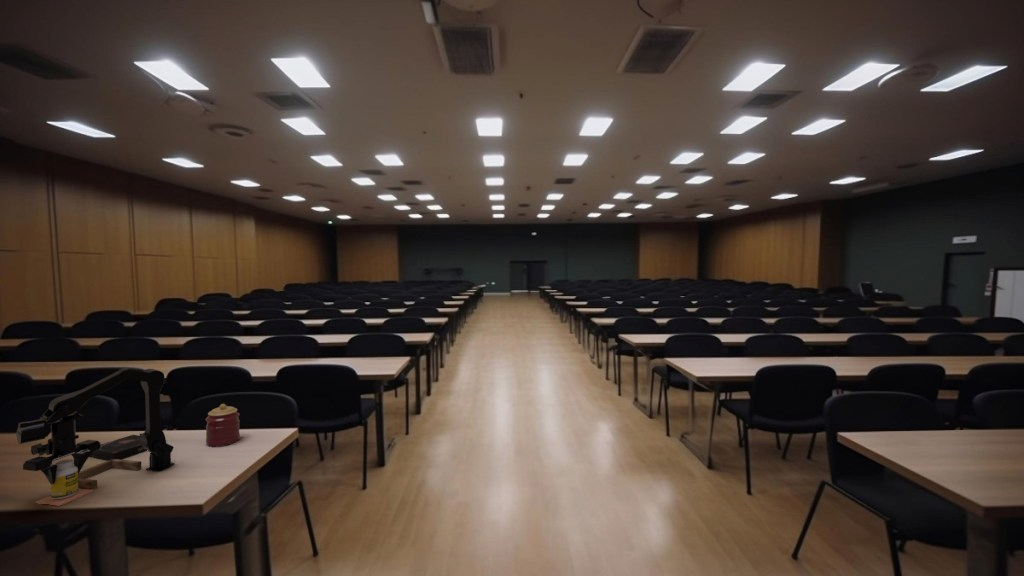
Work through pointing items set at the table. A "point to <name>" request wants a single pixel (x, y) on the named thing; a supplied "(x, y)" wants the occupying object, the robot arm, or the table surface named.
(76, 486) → the pill bottle
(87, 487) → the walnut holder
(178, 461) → the table surface
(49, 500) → the terracotta mat
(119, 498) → the table surface
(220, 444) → the canister
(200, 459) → the table surface
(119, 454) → the portable cd player
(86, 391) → the robot arm
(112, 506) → the table surface
